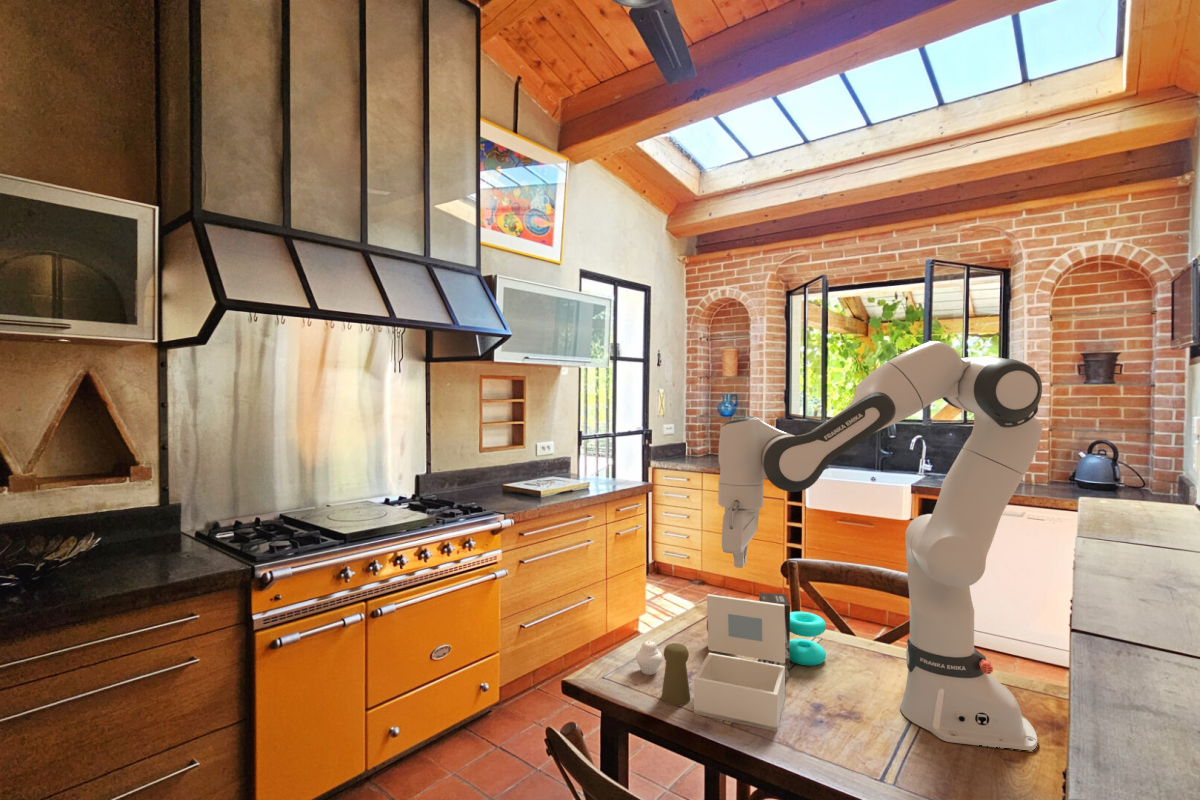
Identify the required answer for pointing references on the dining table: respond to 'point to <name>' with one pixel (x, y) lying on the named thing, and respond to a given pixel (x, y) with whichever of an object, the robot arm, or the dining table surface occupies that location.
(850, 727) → the dining table surface
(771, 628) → the mailer lid
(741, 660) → the base
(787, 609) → the coffee box
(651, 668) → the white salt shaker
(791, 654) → the donuts
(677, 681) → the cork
